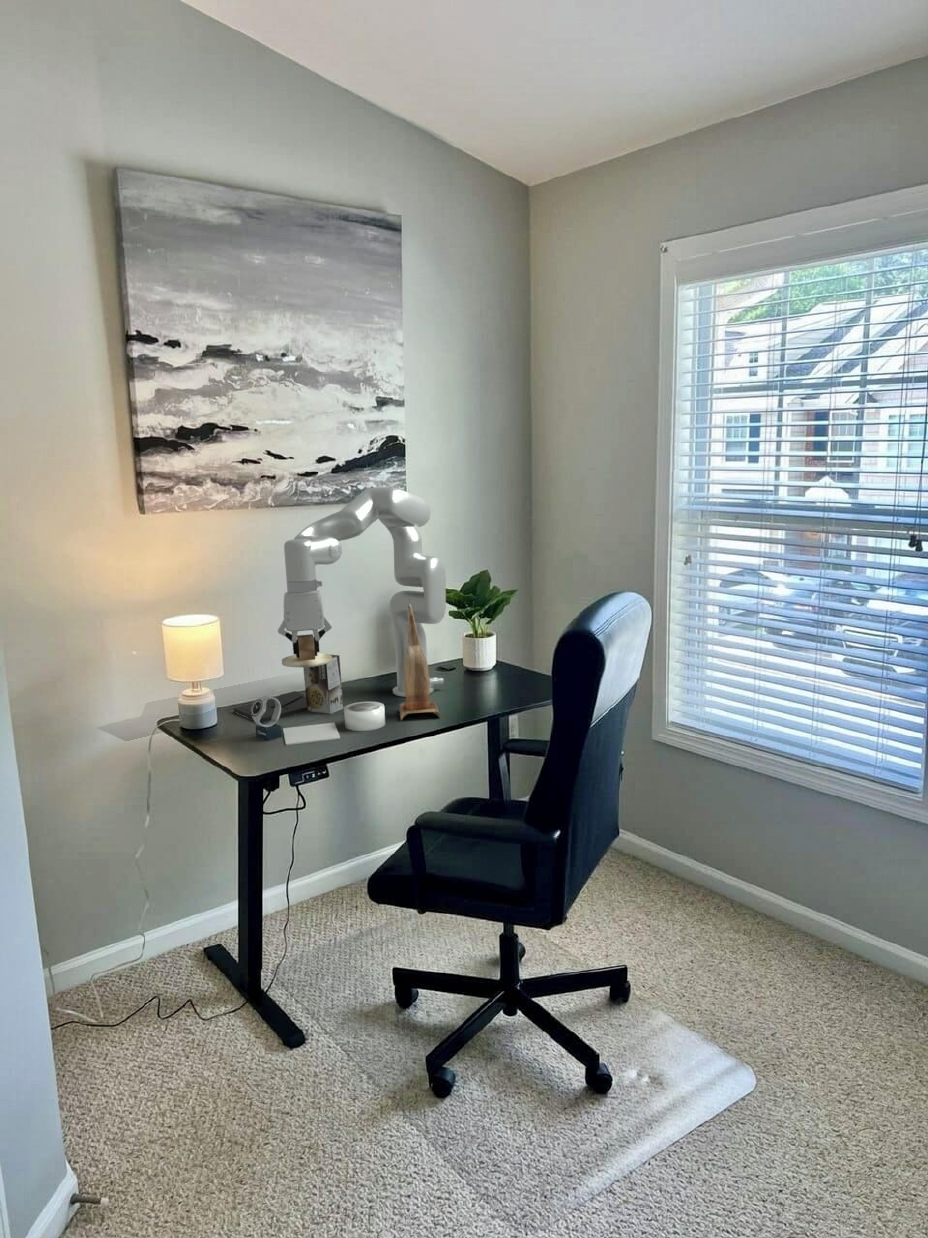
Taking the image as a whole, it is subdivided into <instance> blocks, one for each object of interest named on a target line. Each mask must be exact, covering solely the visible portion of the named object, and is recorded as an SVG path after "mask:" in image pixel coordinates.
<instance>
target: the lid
mask: <svg viewBox="0 0 928 1238" xmlns="http://www.w3.org/2000/svg"><path fill="white" fill-rule="evenodd" d="M297 640H298V644H299V658H297V657H296V654H293V655H289V656H286V657H284V658H282V659H281V665H282V666H284V667H287V668H303V667H313V666H319V665H324V664H327V663H329V662H331V661H332V656H331V655H332V654H327V653H324V652H323V653H321V652H317V656H315V647H314V634H313V633H311V634H299V635H298V634H297Z"/></svg>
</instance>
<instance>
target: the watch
mask: <svg viewBox="0 0 928 1238" xmlns="http://www.w3.org/2000/svg"><path fill="white" fill-rule="evenodd" d="M276 698H277V697H273V696H270V695H264V696H261V697H259V698H257V699H255V701H254V702H253V703H252V704H253V705H252V707H251V715H252V718H253V720H254V723H255V724H256V725H255V735H256V738H258V737H259V738H258V739H261V740H264V741H267V742H269V741H272V740H276V739H279V738H283V737H282V736H283V735H282V725H281V724H277V723H278V722H279V717H280V713H281V704H280V702H279V701H278V700H277V699H276ZM270 699H273V700H274V702H275V704H276V705H275V708H274V713H273V716H272V718H271V719H272V720H271V721H268V722H264V723H260V722H259V720H260V719H261V716H262V715H263V714H264V712H265V711H266V703H267V700H270ZM253 720H252V721H253Z"/></svg>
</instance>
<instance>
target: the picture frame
mask: <svg viewBox="0 0 928 1238" xmlns="http://www.w3.org/2000/svg"><path fill="white" fill-rule="evenodd" d="M275 698H276V699H277V700H278V701H279V702H280V704H281V713H280V717H279V719H283V718H288V717H291V716H295V714H296V715H299V714H303V713H307V712H309V711H308V707H307V703H306V696H304V694H303V693H301V692H298V691H296V690H294V691H291V692H286V693H281V694H280V695H279V696H278V697H275ZM252 705H253V703H250V704H245V705H241V706H236V707H233V713H234V712H237V713H239V714H241V715H244V716H246V717H248V718H250V719H252V720H251V721H253V718H252V715H251V707H252ZM275 705H276V704H275V702H274V700H273V699H272V698H271V699H267V703H266V711H265V712H264V714H263V715H262V716H261V719H260V720H259V722H260V723H261V724H263V723H267V722H271V720H272V719H271V718H272V716H273V713H274V708H275ZM306 711H307V712H306ZM302 712H303V713H302ZM241 715H240V716H241ZM246 717H245V718H246ZM248 718H247V719H248ZM250 719H249V720H250ZM279 719H278V720H279Z"/></svg>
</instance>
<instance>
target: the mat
mask: <svg viewBox="0 0 928 1238" xmlns="http://www.w3.org/2000/svg"><path fill="white" fill-rule="evenodd" d="M282 731H283V732H282V733H283V738H284V741H285V746H295V745H302V744H309V743H311V744H312V743H318V742H319V743H320V742H327V741H328V742H329V741H335V740H337V741H338V740H341V736H340V733H339V731H338V728H337V726H336V723H335V722H327V723H319V724H311V725H310V724H309V725H300V726H293V727H292V726H291V727H285V728H284V727H283V728H282Z"/></svg>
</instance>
